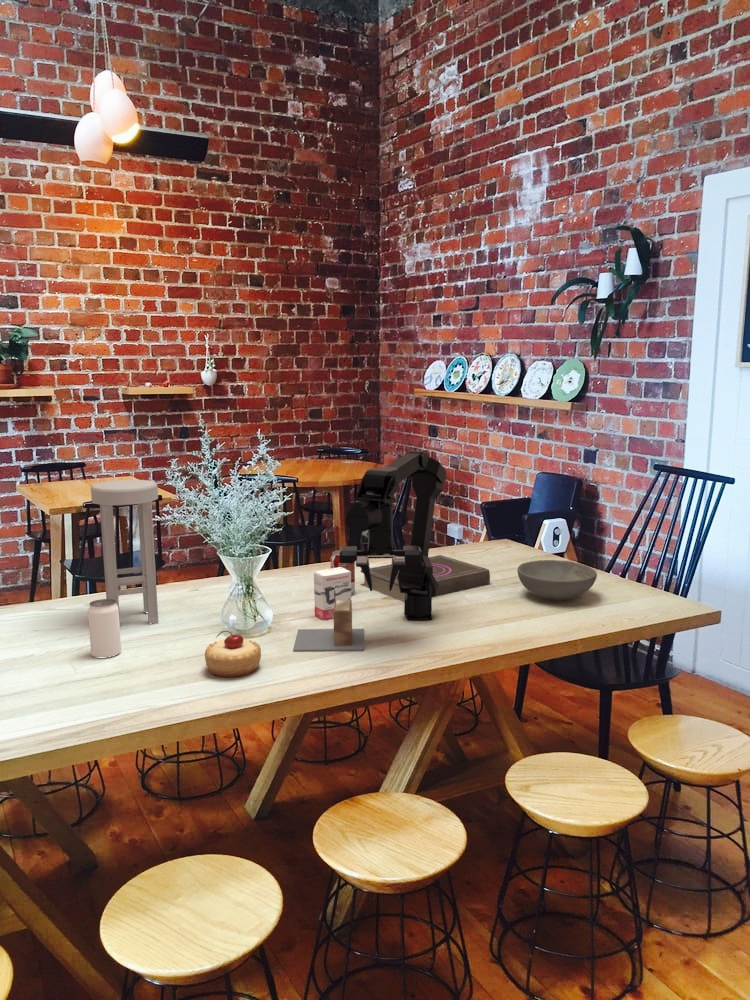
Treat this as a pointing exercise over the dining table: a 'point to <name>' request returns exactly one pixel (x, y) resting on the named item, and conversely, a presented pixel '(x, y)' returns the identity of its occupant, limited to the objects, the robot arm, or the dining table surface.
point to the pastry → (232, 656)
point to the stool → (143, 496)
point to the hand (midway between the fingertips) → (380, 590)
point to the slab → (342, 622)
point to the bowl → (556, 578)
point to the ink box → (330, 590)
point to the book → (445, 572)
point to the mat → (326, 640)
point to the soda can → (348, 566)
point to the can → (104, 628)
